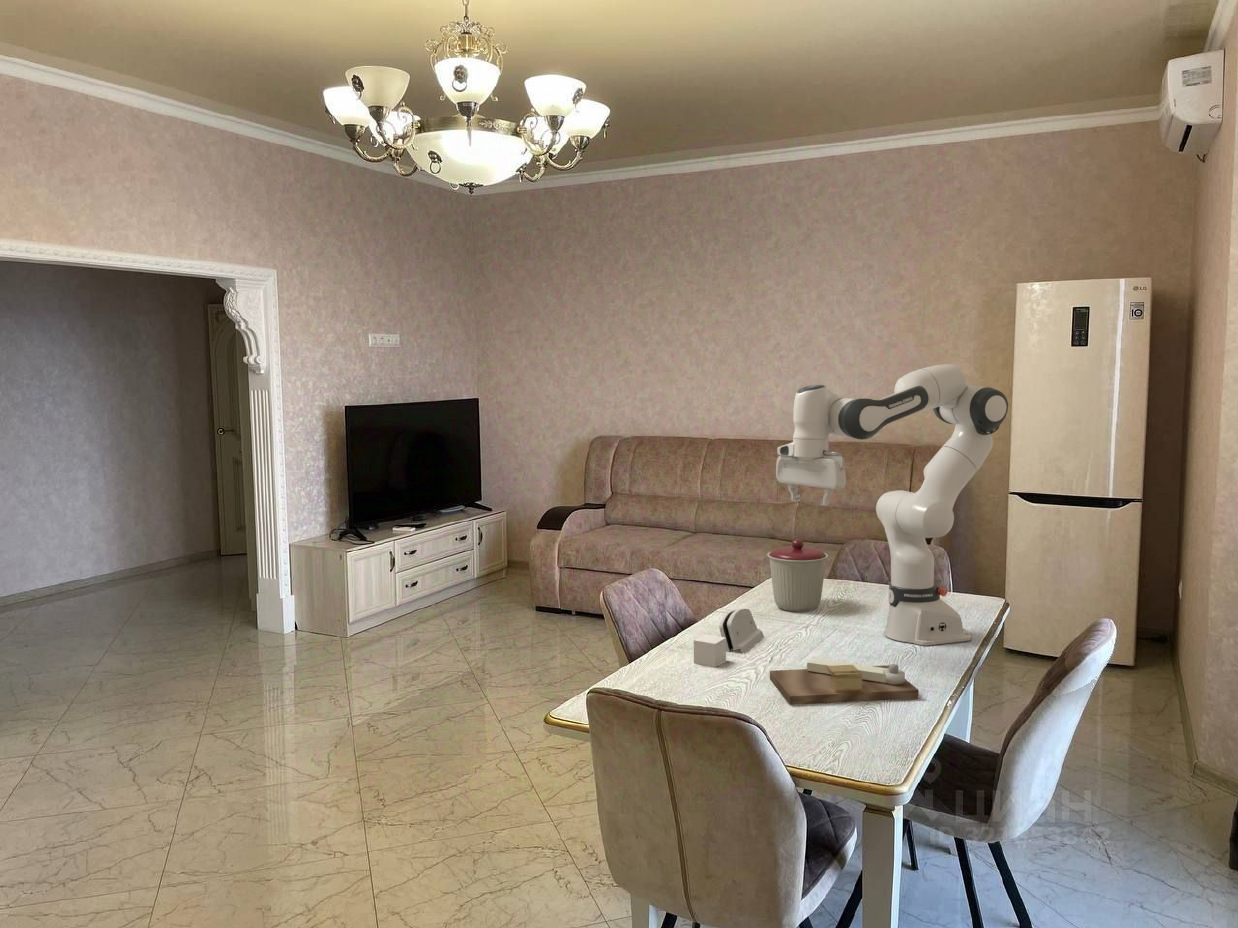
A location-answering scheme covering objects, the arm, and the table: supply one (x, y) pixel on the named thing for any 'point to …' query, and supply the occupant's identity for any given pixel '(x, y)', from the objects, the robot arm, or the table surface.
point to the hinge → (740, 630)
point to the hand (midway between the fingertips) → (809, 503)
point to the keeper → (845, 678)
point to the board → (818, 690)
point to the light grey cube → (709, 650)
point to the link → (862, 671)
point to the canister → (797, 576)
